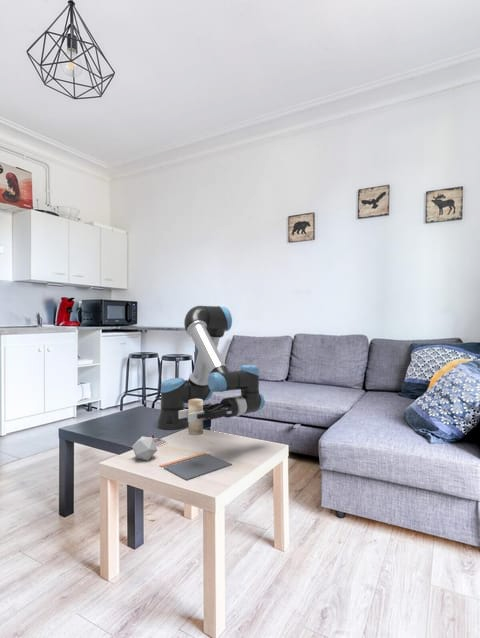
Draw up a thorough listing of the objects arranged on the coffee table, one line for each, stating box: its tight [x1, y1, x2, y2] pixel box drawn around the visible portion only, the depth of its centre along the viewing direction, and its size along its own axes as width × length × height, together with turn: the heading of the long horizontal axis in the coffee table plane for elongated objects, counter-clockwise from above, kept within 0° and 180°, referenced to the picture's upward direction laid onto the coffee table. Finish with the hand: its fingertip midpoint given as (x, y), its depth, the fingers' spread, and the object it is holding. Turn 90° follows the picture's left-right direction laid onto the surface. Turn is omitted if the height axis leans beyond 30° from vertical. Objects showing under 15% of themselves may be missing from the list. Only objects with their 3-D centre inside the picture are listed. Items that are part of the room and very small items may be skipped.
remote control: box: [149, 434, 167, 447], centre depth 159 cm, size 7×16×3 cm, turn 54°
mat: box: [163, 453, 233, 482], centre depth 132 cm, size 20×14×1 cm
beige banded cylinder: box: [187, 399, 204, 436], centre depth 133 cm, size 5×5×12 cm
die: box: [132, 436, 158, 461], centre depth 140 cm, size 8×9×10 cm
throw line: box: [159, 452, 207, 468], centre depth 138 cm, size 20×2×1 cm, turn 133°
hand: (183, 416), depth 130 cm, fingers closed on beige banded cylinder, 5 cm apart
